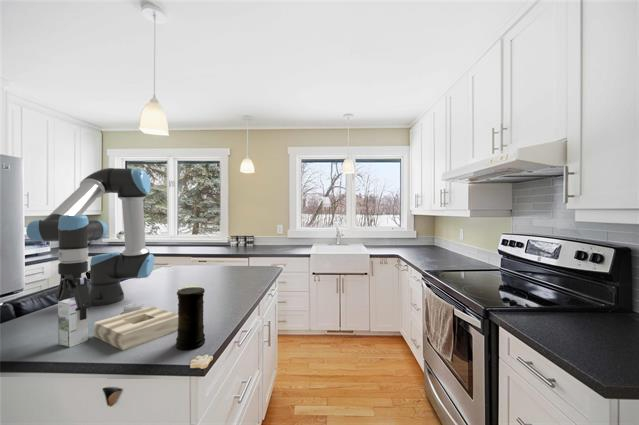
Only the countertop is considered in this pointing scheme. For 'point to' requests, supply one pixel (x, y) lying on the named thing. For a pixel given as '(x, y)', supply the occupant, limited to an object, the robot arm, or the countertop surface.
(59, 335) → the syrup box
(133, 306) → the mechanical component
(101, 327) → the socket block
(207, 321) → the countertop surface
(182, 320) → the container
